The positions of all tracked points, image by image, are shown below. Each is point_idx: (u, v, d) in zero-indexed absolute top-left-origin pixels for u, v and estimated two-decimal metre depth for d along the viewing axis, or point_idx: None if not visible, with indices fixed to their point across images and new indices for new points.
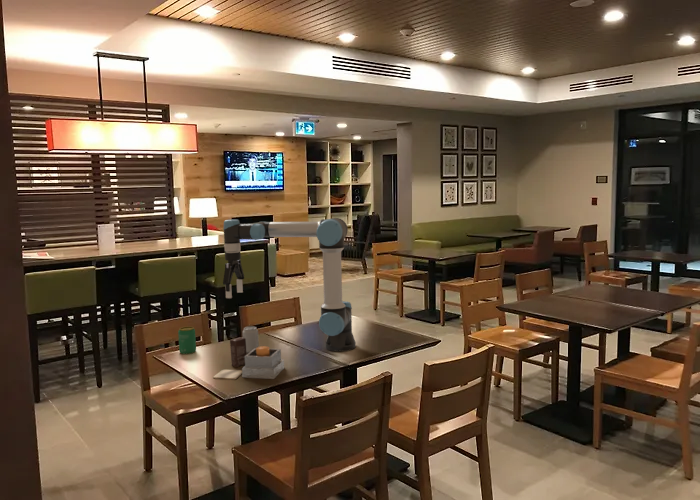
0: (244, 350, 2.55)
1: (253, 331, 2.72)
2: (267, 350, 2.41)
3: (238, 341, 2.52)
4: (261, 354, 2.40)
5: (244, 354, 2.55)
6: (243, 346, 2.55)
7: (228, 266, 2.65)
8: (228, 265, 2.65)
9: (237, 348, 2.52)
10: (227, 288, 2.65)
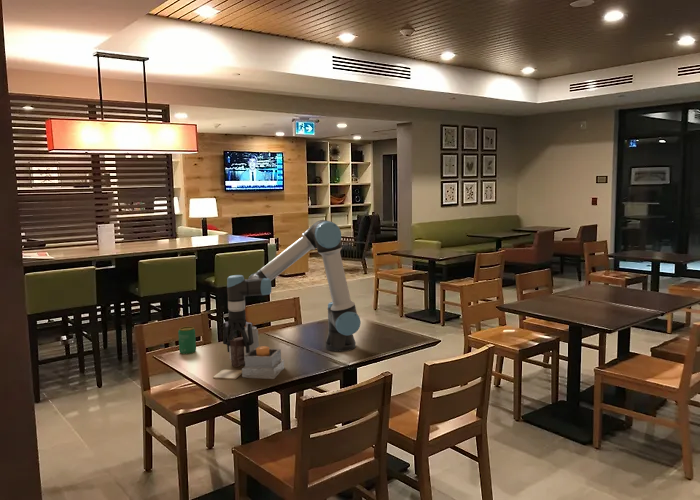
0: None
1: (253, 331, 2.72)
2: (267, 350, 2.41)
3: (238, 341, 2.52)
4: (261, 354, 2.40)
5: None
6: (243, 346, 2.55)
7: None
8: None
9: (237, 348, 2.52)
10: None
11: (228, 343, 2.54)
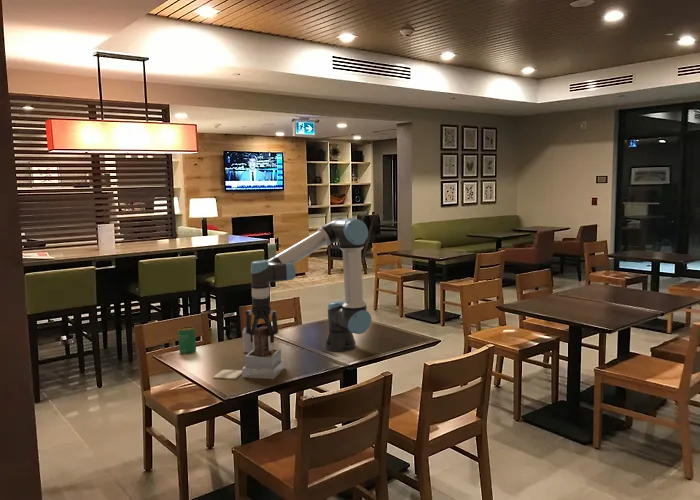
0: None
1: None
2: None
3: (262, 330, 2.40)
4: None
5: None
6: (267, 335, 2.42)
7: None
8: None
9: (261, 337, 2.39)
10: None
11: (251, 332, 2.42)
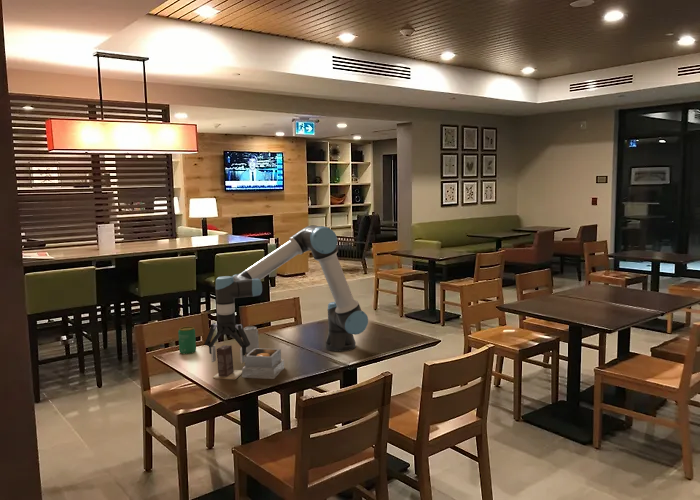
0: (231, 358, 2.41)
1: (253, 331, 2.72)
2: None
3: (226, 349, 2.38)
4: None
5: (231, 362, 2.41)
6: (230, 354, 2.41)
7: None
8: None
9: (226, 356, 2.38)
10: None
11: (210, 344, 2.41)
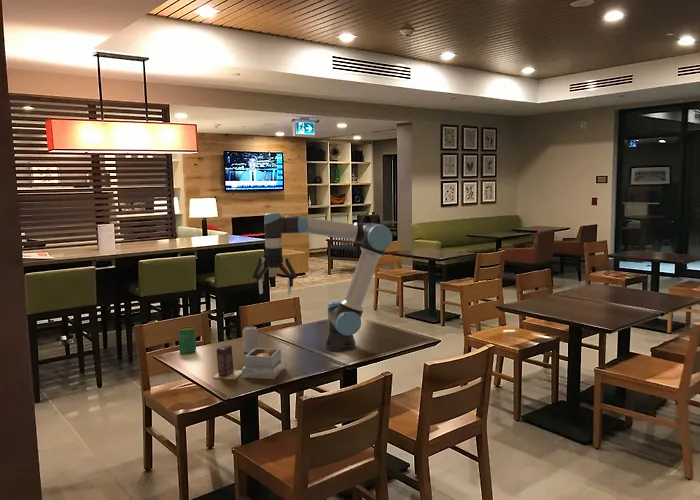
0: (231, 358, 2.41)
1: (253, 331, 2.72)
2: None
3: (226, 349, 2.38)
4: None
5: (231, 362, 2.41)
6: (230, 354, 2.41)
7: None
8: None
9: (226, 356, 2.38)
10: None
11: (258, 277, 2.55)
